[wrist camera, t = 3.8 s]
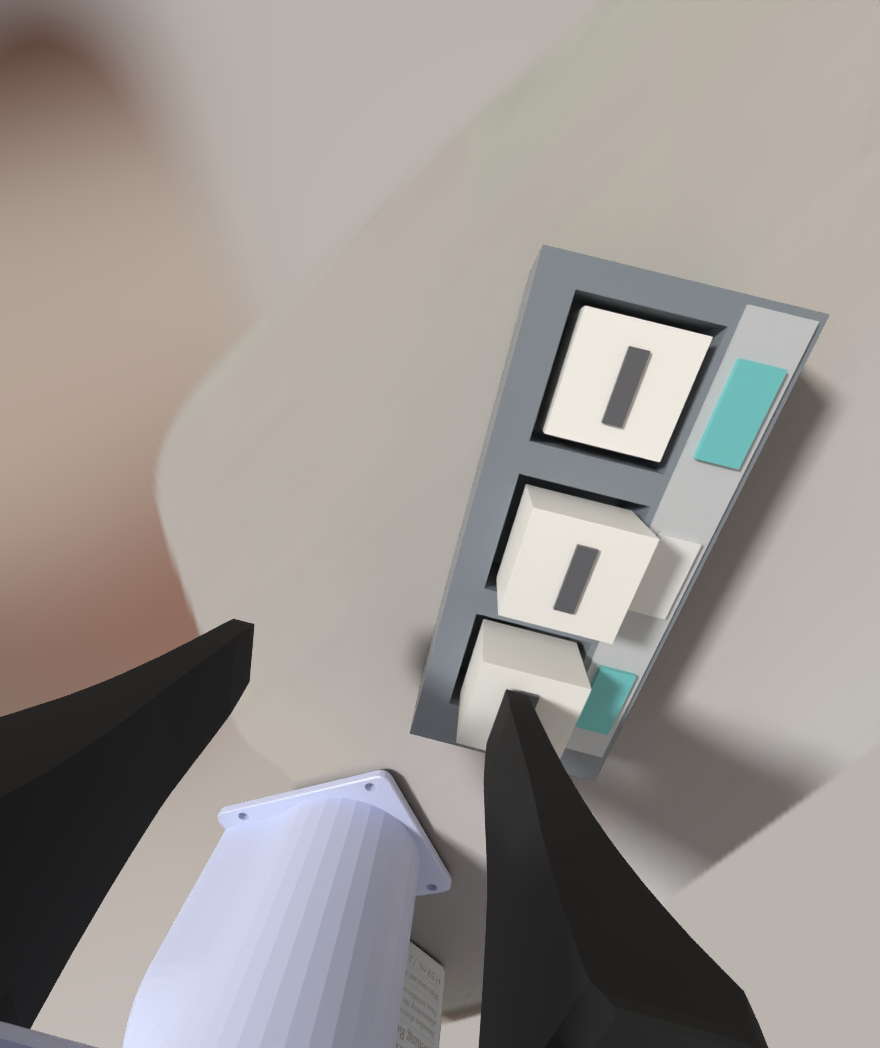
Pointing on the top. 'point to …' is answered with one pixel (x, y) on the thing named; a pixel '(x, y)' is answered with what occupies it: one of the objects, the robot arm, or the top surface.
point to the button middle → (572, 564)
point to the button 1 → (522, 682)
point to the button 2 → (620, 382)
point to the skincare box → (421, 1002)
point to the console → (615, 476)
